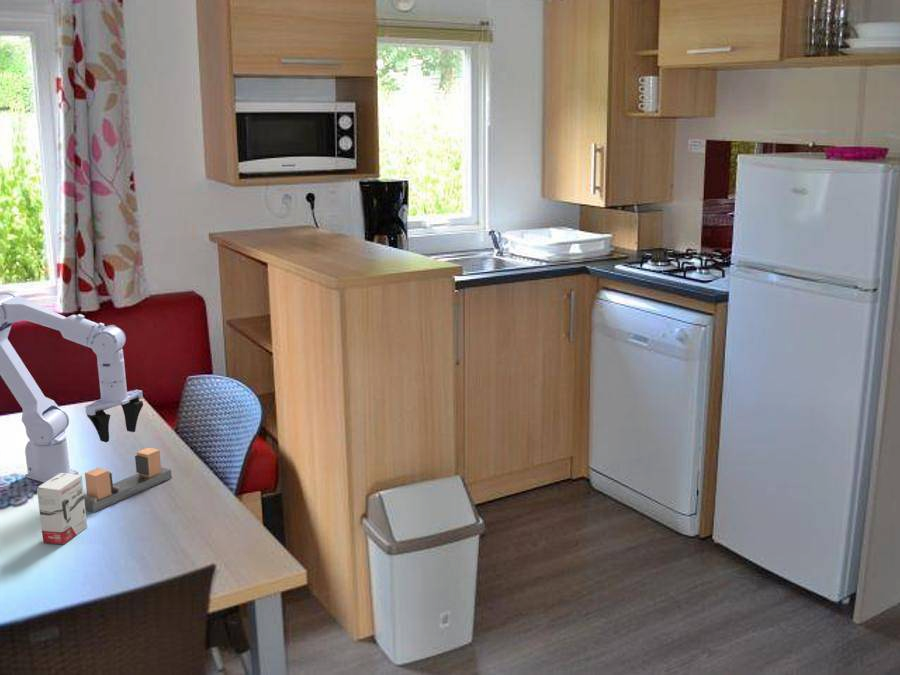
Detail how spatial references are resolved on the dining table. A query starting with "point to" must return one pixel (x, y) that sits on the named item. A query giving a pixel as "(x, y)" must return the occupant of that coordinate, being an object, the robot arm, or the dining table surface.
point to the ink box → (62, 508)
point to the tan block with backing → (99, 483)
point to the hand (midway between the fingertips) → (118, 436)
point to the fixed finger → (148, 462)
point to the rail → (126, 489)
